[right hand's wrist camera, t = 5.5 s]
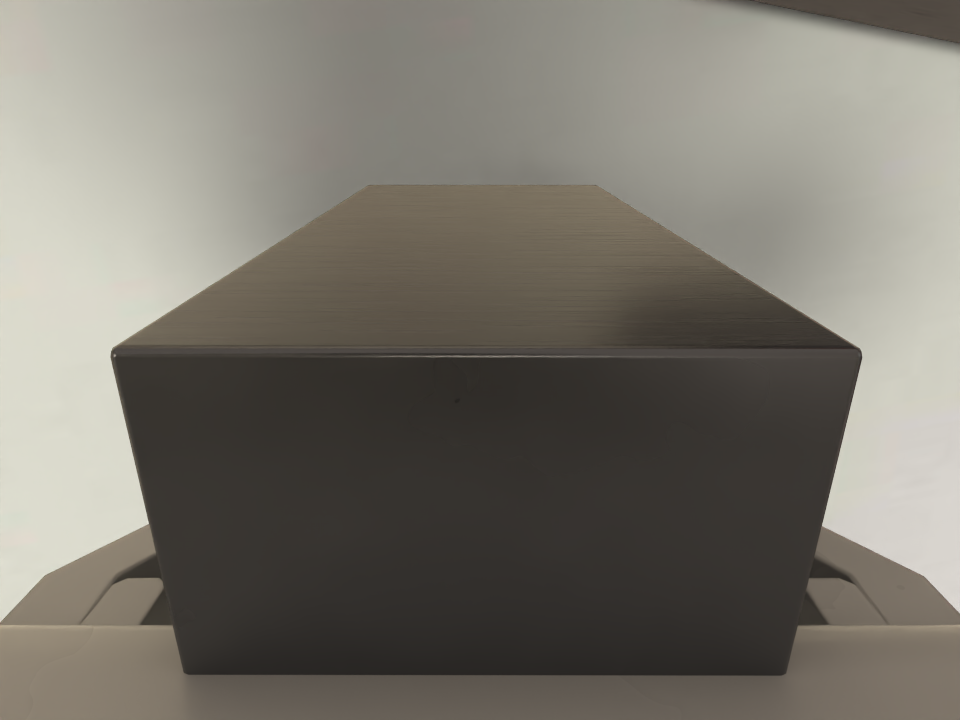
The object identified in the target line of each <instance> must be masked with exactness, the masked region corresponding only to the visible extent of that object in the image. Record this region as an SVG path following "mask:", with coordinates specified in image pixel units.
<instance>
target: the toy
mask: <svg viewBox="0 0 960 720" xmlns="http://www.w3.org/2000/svg"><path fill="white" fill-rule="evenodd" d="M751 1H756V2H761V3H766V4H771V5H775V6H780V7H785V8H790V9H795V10H800V11H805V12H810V13H815V14H820V15H824V16H829V17H834V18H839V19H844V20H849V21H854V22H859V23H864V24H868V25H873V26H878V27H883V28H888V29H893V30H898V31H903V32H908V33H913V34H917V35H922V36H927V37H932V38H937V39H942V40H947V41H952V42H957V43H960V0H751Z"/></svg>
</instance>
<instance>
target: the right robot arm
mask: <svg viewBox="0 0 960 720" xmlns="http://www.w3.org/2000/svg"><path fill="white" fill-rule="evenodd" d="M0 720H960V613H959V612H958V611H957V610H956V609H955V608H954V607H953V606H952V605H951V604H950V603H949V602H948V601H947V600H946V599H945V598H944V597H943V596H942V595H941V594H940V593H939V592H938V591H937V589H936V588H935V587H934V586H933V585H932V584H931V583H930V582H929V581H928V580H927V579H926V578H925V577H924V576H922V575H920V574H918V573H916V572H914V571H912V570H910V569H908V568H906V567H904V566H902V565H900V564H898V563H896V562H894V561H892V560H890V559H887V558H885V557H883V556H881V555H879V554H877V553H875V552H873V551H871V550H869V549H867V548H865V547H863V546H861V545H859V544H857V543H855V542H853V541H851V540H849V539H847V538H845V537H843V536H841V535H839V534H837V533H835V532H833V531H831V530H829V529H826V528H824V527H821V531H820V535H819V539H818V543H817V548H816V552H815V556H814V560H813V564H812V568H811V572H810V577H809V581H808V585H807V589H806V593H805V597H804V602H803V606H802V610H801V614H800V618H799V622H798V627H797V631H796V635H795V639H794V643H793V647H792V651H791V656H790V660H789V664H788V668H787V672H786V674H784V675H782V676H646V675H188V674H185V673H184V672H183V668H182V664H181V659H180V655H179V651H178V646H177V642H176V638H175V633H174V629H173V625H172V620H171V616H170V612H169V607H168V603H167V599H166V594H165V590H164V586H163V581H162V577H161V573H160V568H159V564H158V560H157V556H156V551H155V547H154V543H153V538H152V534H151V530H150V525H149V524H148V525H146V526H144V527H142V528H140V529H138V530H136V531H134V532H132V533H130V534H128V535H126V536H124V537H122V538H120V539H118V540H116V541H114V542H112V543H110V544H108V545H106V546H104V547H102V548H100V549H98V550H96V551H94V552H92V553H89V554H87V555H85V556H83V557H81V558H79V559H77V560H75V561H73V562H71V563H69V564H67V565H65V566H63V567H61V568H59V569H57V570H55V571H53V572H51V573H49V574H47V575H45V576H44V577H43V578H42V579H41V580H40V581H39V582H38V583H37V584H36V585H35V586H34V588H33V589H32V590H31V591H30V592H29V593H28V594H27V595H26V596H25V597H24V598H23V599H22V600H21V601H20V602H19V603H18V604H17V605H16V606H15V608H14V609H13V610H12V611H11V612H10V613H9V614H8V615H7V616H6V617H5V618H4V619H3V620H2V621H1V622H0Z"/></svg>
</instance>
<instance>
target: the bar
mask: <svg viewBox="0 0 960 720" xmlns="http://www.w3.org/2000/svg"><path fill="white" fill-rule="evenodd" d="M861 360H862V353H861V350H860V348H858V347H857V346H855V345H853V344H852V343H850V342H848V341H847V340H845V339H844V338H842V337H840V336H839V335H837V334H836V333H834V332H832V331H831V330H829V329H827V328H826V327H824V326H823V325H821V324H819V323H818V322H816V321H815V320H813V319H811V318H810V317H808V316H807V315H805V314H803V313H802V312H800V311H798V310H797V309H795V308H794V307H792V306H790V305H789V304H787V303H786V302H784V301H782V300H781V299H779V298H777V297H776V296H774V295H773V294H771V293H769V292H768V291H766V290H765V289H763V288H761V287H760V286H758V285H757V284H755V283H753V282H752V281H750V280H748V279H747V278H745V277H744V276H742V275H740V274H739V273H737V272H736V271H734V270H732V269H731V268H729V267H727V266H726V265H724V264H723V263H721V262H719V261H718V260H716V259H715V258H713V257H711V256H710V255H708V254H707V253H705V252H703V251H702V250H700V249H698V248H697V247H695V246H694V245H692V244H690V243H689V242H687V241H686V240H684V239H682V238H681V237H679V236H677V235H676V234H674V233H673V232H671V231H669V230H668V229H666V228H665V227H663V226H661V225H660V224H658V223H657V222H655V221H653V220H652V219H650V218H648V217H647V216H645V215H644V214H642V213H640V212H639V211H637V210H636V209H634V208H632V207H631V206H629V205H627V204H626V203H624V202H623V201H621V200H619V199H618V198H616V197H615V196H613V195H611V194H610V193H608V192H607V191H605V190H603V189H602V188H600V187H598V186H596V185H368V186H367V187H365V188H363V189H362V190H360V191H359V192H357V193H356V194H354V195H352V196H351V197H349V198H348V199H346V200H345V201H343V202H341V203H340V204H338V205H337V206H335V207H333V208H332V209H330V210H329V211H327V212H326V213H324V214H322V215H321V216H319V217H318V218H316V219H315V220H313V221H311V222H310V223H308V224H307V225H305V226H304V227H302V228H300V229H299V230H297V231H296V232H294V233H293V234H291V235H289V236H288V237H286V238H285V239H283V240H282V241H280V242H278V243H277V244H275V245H274V246H272V247H271V248H269V249H267V250H266V251H264V252H263V253H261V254H260V255H258V256H256V257H255V258H253V259H252V260H250V261H249V262H247V263H245V264H244V265H242V266H241V267H239V268H238V269H236V270H234V271H233V272H231V273H230V274H228V275H227V276H225V277H223V278H222V279H220V280H219V281H217V282H216V283H214V284H212V285H211V286H209V287H208V288H206V289H205V290H203V291H201V292H200V293H198V294H197V295H195V296H194V297H192V298H190V299H189V300H187V301H186V302H184V303H183V304H181V305H179V306H178V307H176V308H175V309H173V310H172V311H170V312H168V313H167V314H165V315H164V316H162V317H161V318H159V319H157V320H156V321H154V322H153V323H151V324H150V325H148V326H146V327H145V328H143V329H142V330H140V331H138V332H137V333H135V334H134V335H132V336H131V337H129V338H127V339H126V340H124V341H123V342H121V343H120V344H118V345H116V346H115V347H113V349H112V351H111V361H112V365H113V370H114V374H115V378H116V383H117V387H118V391H119V396H120V400H121V404H122V409H123V413H124V417H125V422H126V426H127V430H128V435H129V439H130V443H131V447H132V452H133V456H134V460H135V465H136V469H137V473H138V478H139V482H140V486H141V491H142V495H143V499H144V504H145V508H146V512H147V517H148V521H149V525H150V530H151V534H152V538H153V543H154V547H155V551H156V556H157V560H158V564H159V568H160V573H161V577H162V581H163V586H164V590H165V594H166V599H167V603H168V607H169V612H170V616H171V620H172V625H173V629H174V633H175V638H176V642H177V646H178V651H179V655H180V659H181V664H182V668H183V672H184V673H185V674H188V675H646V676H782V675H784V674H786V672H787V668H788V664H789V660H790V656H791V651H792V647H793V643H794V639H795V635H796V631H797V627H798V622H799V618H800V614H801V610H802V606H803V602H804V597H805V593H806V589H807V585H808V581H809V577H810V572H811V568H812V564H813V560H814V556H815V552H816V548H817V543H818V539H819V535H820V531H821V527H822V523H823V518H824V514H825V510H826V506H827V502H828V498H829V493H830V489H831V485H832V481H833V477H834V473H835V469H836V464H837V460H838V456H839V452H840V448H841V444H842V439H843V435H844V431H845V427H846V423H847V419H848V414H849V410H850V406H851V402H852V398H853V394H854V390H855V385H856V381H857V377H858V373H859V369H860V365H861Z"/></svg>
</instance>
